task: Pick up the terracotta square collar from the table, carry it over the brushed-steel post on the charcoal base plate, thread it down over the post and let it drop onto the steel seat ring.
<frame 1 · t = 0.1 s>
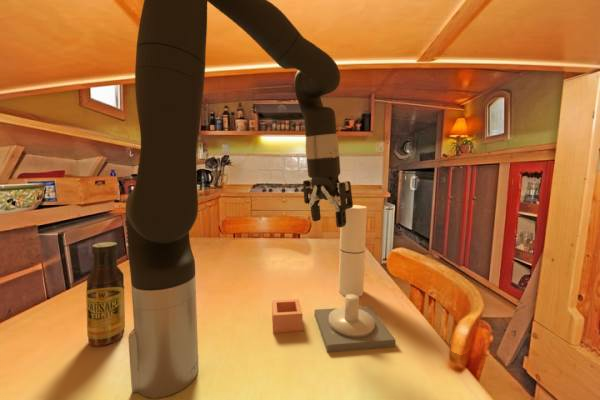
hand: (328, 223, 63), 22 cm above the table, tool pointing down, fingers open, 8 cm apart
collar: (286, 323, 60), on the table
cylindrical container: (350, 291, 76), on the table
post plate: (350, 329, 58), on the table
sauce bottle: (108, 338, 54), on the table
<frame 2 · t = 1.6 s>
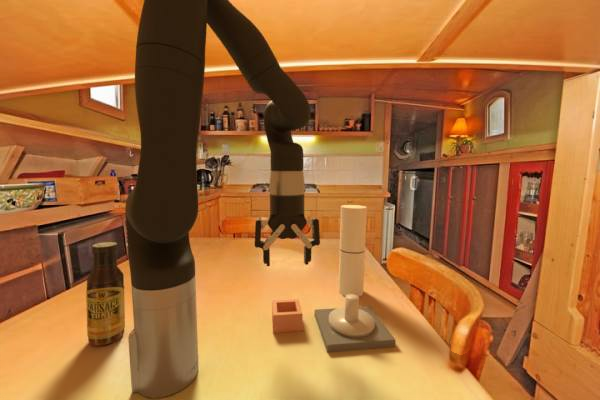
hand: (287, 264, 59), 14 cm above the table, tool pointing down, fingers open, 8 cm apart
nothing on the table moved.
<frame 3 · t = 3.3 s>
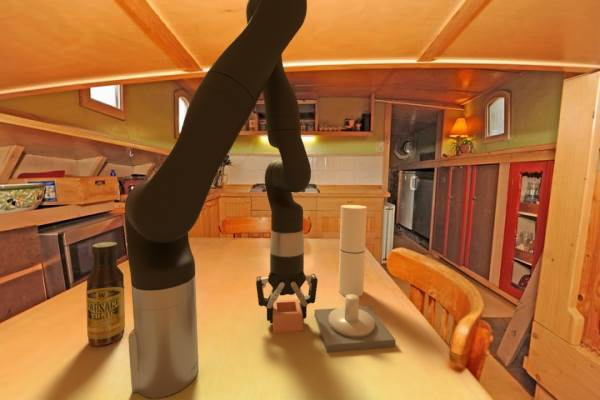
hand: (286, 320, 60), 1 cm above the table, tool pointing down, fingers closed on collar, 6 cm apart
collar: (286, 323, 60), on the table, touching gripper
everything else where it was.
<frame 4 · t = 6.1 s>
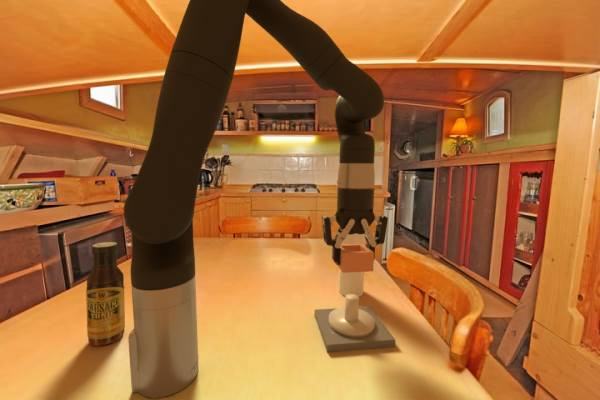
hand: (353, 263, 56), 15 cm above the table, tool pointing down, fingers closed on collar, 6 cm apart
collar: (353, 266, 56), point 14 cm above the table, touching gripper
everything else where it was.
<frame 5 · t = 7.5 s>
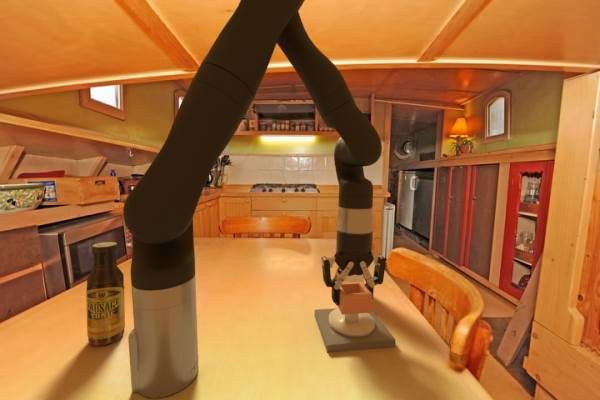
hand: (352, 302, 57), 6 cm above the table, tool pointing down, fingers closed on collar, 6 cm apart
collar: (352, 305, 57), point 6 cm above the table, touching gripper
everything else where it was.
when the fingers open (4 cm above the table, at t = 8.9 s): collar stays where it is, resting on post plate.
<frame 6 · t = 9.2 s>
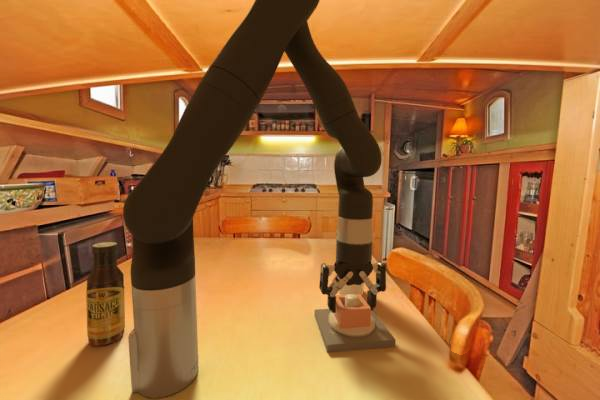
hand: (351, 309, 57), 5 cm above the table, tool pointing down, fingers open, 8 cm apart
collar: (350, 318, 58), point 2 cm above the table, touching post plate
everything else where it was.
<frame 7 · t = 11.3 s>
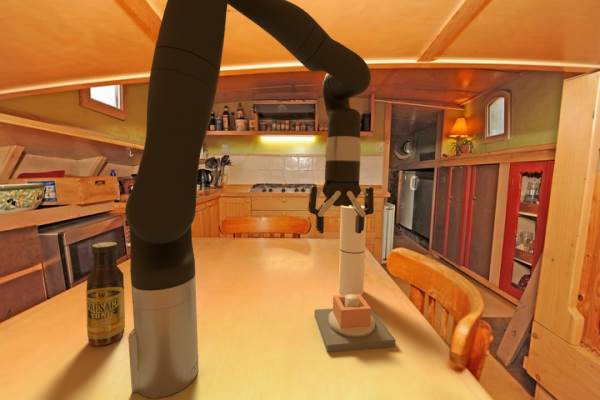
hand: (339, 232, 59), 21 cm above the table, tool pointing down, fingers open, 8 cm apart
nothing on the table moved.
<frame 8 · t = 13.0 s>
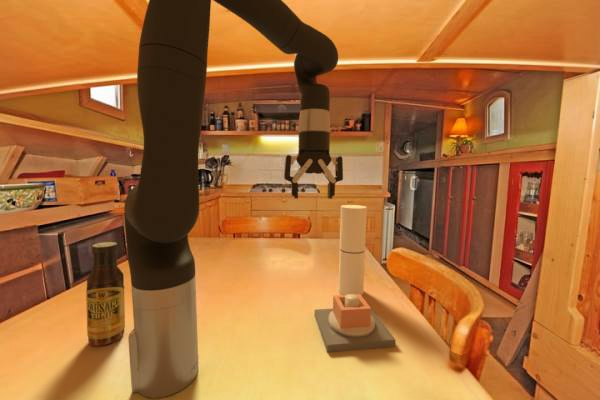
hand: (313, 198, 65), 28 cm above the table, tool pointing down, fingers open, 8 cm apart
nothing on the table moved.
at the end: collar 0.2 cm off-centre on the post plate, point 2.5 cm above the post plate's base; collar tilted 0°; the gripper is holding nothing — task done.
